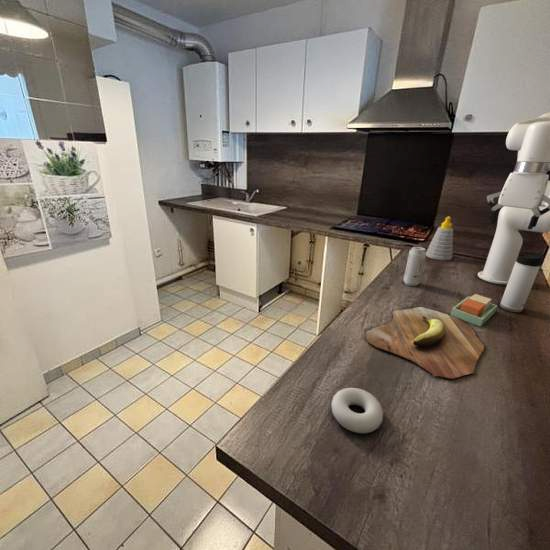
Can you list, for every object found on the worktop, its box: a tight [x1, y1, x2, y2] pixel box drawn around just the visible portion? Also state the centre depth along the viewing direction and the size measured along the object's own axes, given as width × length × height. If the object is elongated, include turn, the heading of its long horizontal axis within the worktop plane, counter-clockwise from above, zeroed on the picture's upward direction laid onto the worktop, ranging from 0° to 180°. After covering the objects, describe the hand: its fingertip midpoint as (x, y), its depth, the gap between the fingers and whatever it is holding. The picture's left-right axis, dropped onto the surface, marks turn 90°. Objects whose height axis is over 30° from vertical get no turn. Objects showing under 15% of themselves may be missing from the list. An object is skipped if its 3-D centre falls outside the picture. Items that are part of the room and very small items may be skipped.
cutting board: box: [365, 306, 485, 380], centre depth 84 cm, size 35×27×4 cm
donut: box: [330, 387, 384, 434], centre depth 58 cm, size 10×4×10 cm
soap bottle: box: [425, 215, 454, 262], centre depth 147 cm, size 12×12×20 cm
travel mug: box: [499, 252, 546, 313], centre depth 97 cm, size 6×7×20 cm
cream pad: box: [469, 293, 492, 314], centre depth 98 cm, size 6×5×4 cm
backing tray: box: [450, 295, 498, 327], centre depth 96 cm, size 14×9×3 cm, turn 130°
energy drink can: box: [403, 246, 427, 287], centre depth 116 cm, size 6×6×15 cm
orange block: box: [460, 299, 485, 317], centre depth 94 cm, size 6×5×4 cm
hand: (510, 225), depth 92 cm, fingers open, 9 cm apart
